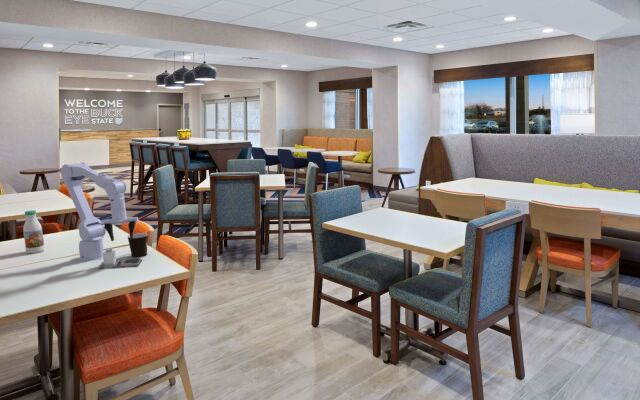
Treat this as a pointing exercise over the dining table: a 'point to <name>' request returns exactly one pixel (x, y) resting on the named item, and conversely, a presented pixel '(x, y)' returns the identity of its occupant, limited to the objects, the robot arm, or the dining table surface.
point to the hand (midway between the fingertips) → (122, 239)
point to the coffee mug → (138, 245)
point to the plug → (109, 256)
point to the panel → (121, 264)
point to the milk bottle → (33, 233)
